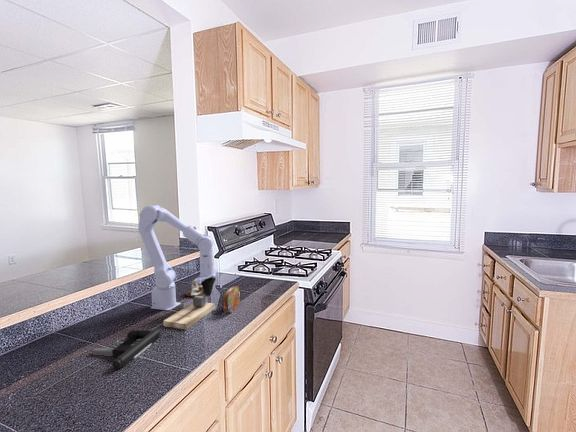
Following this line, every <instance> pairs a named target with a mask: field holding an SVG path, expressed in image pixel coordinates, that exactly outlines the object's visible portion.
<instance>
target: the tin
mask: <svg viewBox="0 0 576 432" xmlns="http://www.w3.org/2000/svg"><path fill="white" fill-rule="evenodd" d="M241 299H242V291H241V288H240V286H239V285H236V286H235V285H234V286H231V287H230V288H228V289H227V290H226V292H225V293H223V296H222V308H223V309H222V310H223V312H224V313H233V312H234V311H235V310H236V309H237V308H238V307H239V305H240V304H241V301H242V300H241Z"/></svg>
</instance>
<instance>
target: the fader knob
mask: <svg viewBox="0 0 576 432" xmlns="http://www.w3.org/2000/svg"><path fill="white" fill-rule="evenodd" d="M192 303H193V306H198V307H202V306H204V305H205V304H206V303H207V301H206V295H205V296H200V295H196V296H195V297H192Z"/></svg>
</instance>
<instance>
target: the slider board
mask: <svg viewBox="0 0 576 432" xmlns="http://www.w3.org/2000/svg"><path fill="white" fill-rule="evenodd" d="M215 309H216V303H213V302H206V304H205V305H204V306H202V307H198V306H193V302H191V303H190V304H188V305H186V306H184V307H183V308H181V309H180V310H178V311H177V312H175V313H174V314H173V313H172V315H170V316H169V317H167V318H165V319H164V320H163V327H165V328H166V327H168V328H174V329H181V330H188V329H189V328H191V327H192V326H193V325H195V324H196V323H197V322H199V320H201V319H203V318H204V317H205V316H207V315H208V314H209V313H211V312H212V311H213V310H215Z"/></svg>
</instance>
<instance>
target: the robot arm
mask: <svg viewBox="0 0 576 432" xmlns="http://www.w3.org/2000/svg"><path fill="white" fill-rule="evenodd" d="M138 215H139V221H138V232H139V234H140V236H141V238H142V241H143V244H144V246H145V248H146V251H147V253H148V256H149V258H150V261H151V263H152V266H153V268H154V269H153V275H154V278H155V279H154V282H155V283H154V284H155V286H154V287H152V290H151V307H150V309H153V310H161V311H171V310H173V309H174V308H176V307H177V306H179V305H181V304H182V303H181V302H180V301H179V302H177V296H176V295H177V294H176V283H175V280H176V278H177V273H176V271H175V270H174V269H173V268H172V266H171V265H170V264H169V263H168V262H167V259H166V257H165V255H164V252H163V251H162V248H161V245H160V243H159V241H158V238H157V235H156V233H155V231H154V228H155V226H156V224H157V222H166V223H168V224H169V225H171V226H172V227H174V228H176V229H177V230H178V231H180V232H182V235H183V238H185V239H187V240H188V241H189V242H191V243H192V244H194V245H195V246H197V248H198V250H199V268H200V269H199V270H200V272H199V275H198V277H196V278H197V279H196V278H195V279H196V284H201V285H202V287H203V289H204V292H205V296H211V295H212V293H213V292H212V291H213V286H214V284H215V282H216V279H217V278H216V277H217V275H218V274H219V269H215V266H214V263H215V261H214V249H213V246H214V239H213V238H212V236H211V235H207V233H206V232H204V233H203V232H202V231H200V230H199V229H198V227H197V226H196V225H187V224H186V223H184V222H183V221H182V220H181V219H179V218H178V217H177V216H176V215H174V214H173V213H172V212H170V210H168V209H166V208H164V207H162V206H161V205H159V204H152V205H147V206H145V207H144V208H142V210H141V212H140V213H139V214H138Z"/></svg>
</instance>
